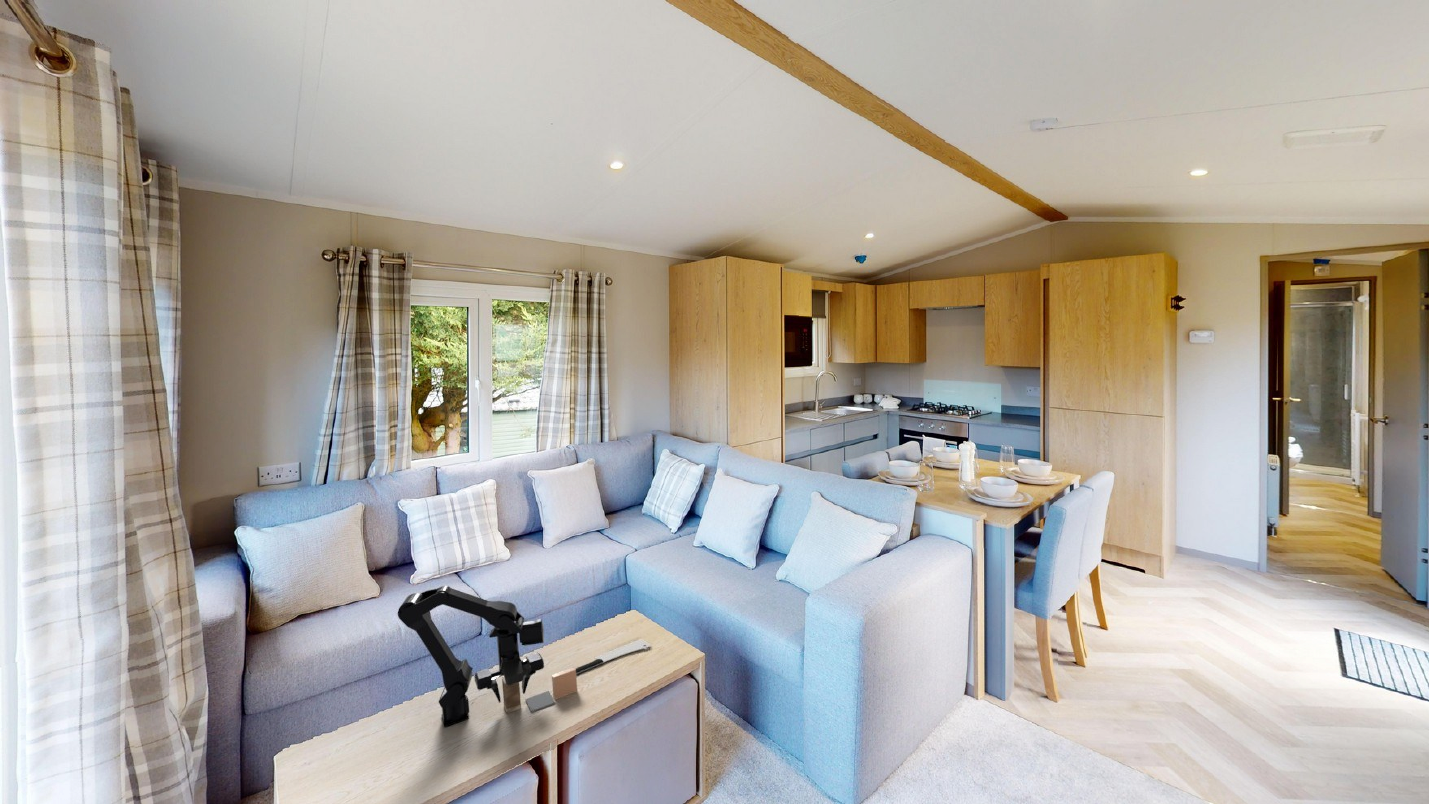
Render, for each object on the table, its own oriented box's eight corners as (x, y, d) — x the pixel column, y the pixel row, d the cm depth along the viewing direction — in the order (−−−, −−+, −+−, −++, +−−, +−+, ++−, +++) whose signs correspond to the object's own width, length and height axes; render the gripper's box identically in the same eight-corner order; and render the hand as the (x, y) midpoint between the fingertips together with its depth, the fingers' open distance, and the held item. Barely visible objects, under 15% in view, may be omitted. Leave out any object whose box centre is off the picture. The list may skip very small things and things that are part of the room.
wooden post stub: (506, 713, 159) (504, 684, 158) (503, 706, 162) (501, 677, 161) (521, 708, 161) (519, 679, 160) (518, 701, 164) (515, 672, 163)
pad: (531, 712, 158) (531, 711, 158) (525, 700, 164) (525, 699, 164) (555, 703, 162) (555, 702, 162) (548, 691, 168) (548, 690, 168)
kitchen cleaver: (638, 635, 199) (652, 643, 191) (639, 639, 199) (652, 647, 191) (556, 666, 181) (567, 676, 173) (556, 671, 181) (567, 682, 173)
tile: (554, 699, 164) (553, 677, 164) (553, 696, 166) (551, 675, 165) (577, 691, 168) (575, 669, 167) (575, 688, 169) (574, 667, 169)
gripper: (478, 671, 148) (483, 724, 149) (547, 649, 158) (550, 699, 159) (472, 653, 157) (476, 703, 159) (537, 633, 167) (540, 681, 169)
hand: (511, 697), depth 161 cm, fingers open, 7 cm apart
